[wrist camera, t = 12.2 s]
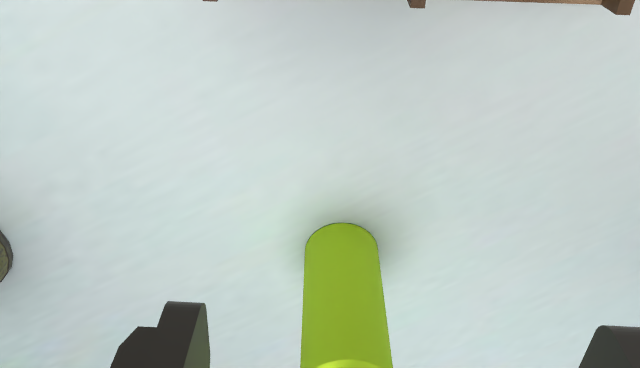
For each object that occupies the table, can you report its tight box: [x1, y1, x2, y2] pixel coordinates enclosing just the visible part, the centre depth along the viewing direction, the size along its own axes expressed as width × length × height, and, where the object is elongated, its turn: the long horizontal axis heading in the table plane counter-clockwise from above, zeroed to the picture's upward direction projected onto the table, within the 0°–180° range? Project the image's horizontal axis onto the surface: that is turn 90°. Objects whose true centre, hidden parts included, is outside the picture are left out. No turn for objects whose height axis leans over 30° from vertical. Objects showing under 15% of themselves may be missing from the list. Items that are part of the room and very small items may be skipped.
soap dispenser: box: [300, 223, 393, 368], centre depth 36 cm, size 6×7×20 cm
